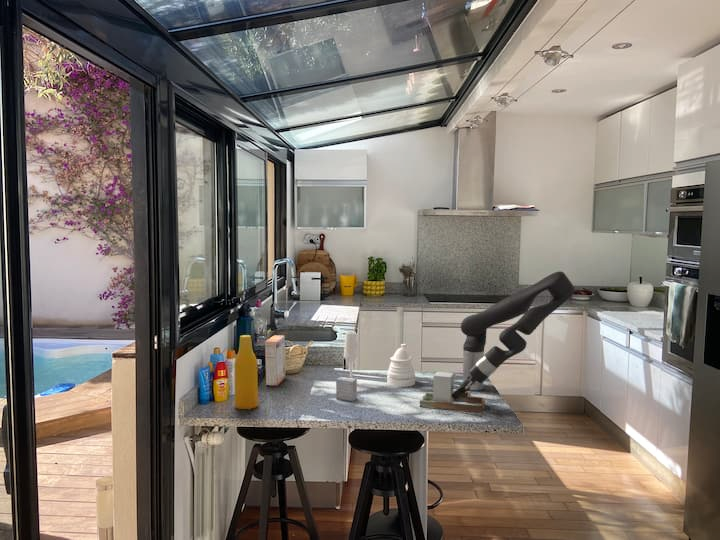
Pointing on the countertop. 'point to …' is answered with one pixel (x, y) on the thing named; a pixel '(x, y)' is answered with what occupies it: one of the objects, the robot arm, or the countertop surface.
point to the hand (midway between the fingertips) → (453, 397)
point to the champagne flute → (351, 349)
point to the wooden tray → (455, 406)
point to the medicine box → (346, 389)
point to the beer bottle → (246, 375)
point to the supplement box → (443, 387)
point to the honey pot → (401, 369)
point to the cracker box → (275, 360)
